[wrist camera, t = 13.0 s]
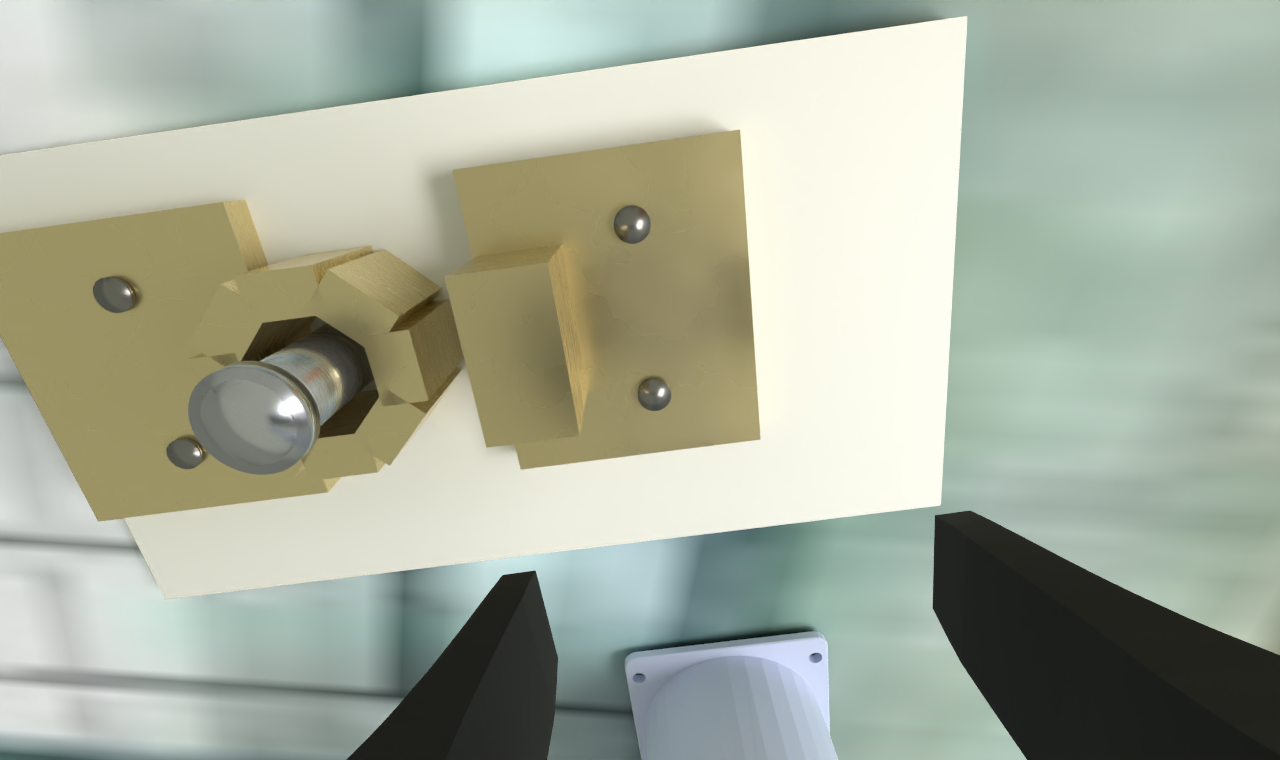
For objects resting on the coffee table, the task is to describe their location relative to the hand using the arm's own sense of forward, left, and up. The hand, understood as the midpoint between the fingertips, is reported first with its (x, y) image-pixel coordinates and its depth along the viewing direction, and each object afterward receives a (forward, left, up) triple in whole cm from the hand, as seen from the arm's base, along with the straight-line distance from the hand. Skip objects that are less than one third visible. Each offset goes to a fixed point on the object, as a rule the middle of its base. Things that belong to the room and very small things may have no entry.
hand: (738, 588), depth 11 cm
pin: (+3, +10, -9) cm, 14 cm away
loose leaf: (+3, +2, -9) cm, 10 cm away
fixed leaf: (+3, +13, -9) cm, 16 cm away
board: (+2, +6, -10) cm, 12 cm away
